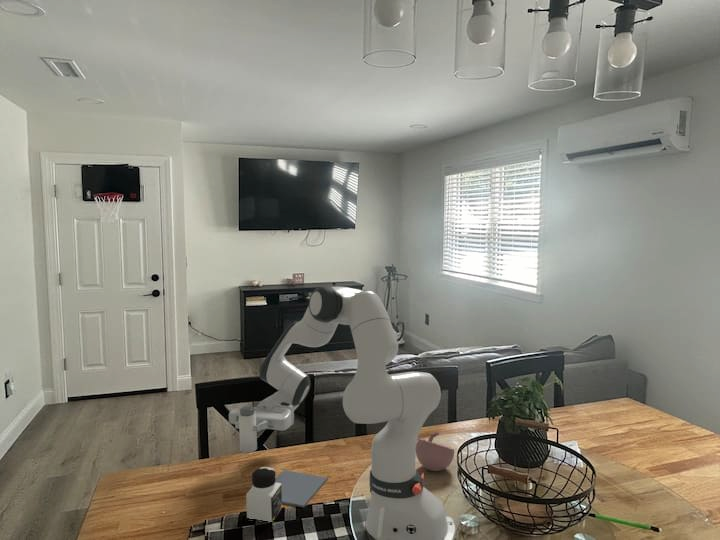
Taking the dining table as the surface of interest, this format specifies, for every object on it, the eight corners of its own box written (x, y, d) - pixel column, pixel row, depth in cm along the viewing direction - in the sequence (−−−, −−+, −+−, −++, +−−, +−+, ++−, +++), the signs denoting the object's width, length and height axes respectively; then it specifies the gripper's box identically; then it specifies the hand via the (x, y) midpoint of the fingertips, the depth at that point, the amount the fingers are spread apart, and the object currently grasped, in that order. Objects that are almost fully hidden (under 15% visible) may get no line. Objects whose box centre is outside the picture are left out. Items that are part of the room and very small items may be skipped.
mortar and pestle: (461, 467, 152) (461, 432, 151) (442, 482, 142) (442, 445, 142) (428, 456, 159) (428, 423, 158) (408, 470, 150) (408, 435, 149)
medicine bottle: (272, 523, 123) (271, 478, 122) (246, 520, 125) (245, 475, 124) (282, 507, 130) (281, 465, 129) (257, 505, 132) (256, 463, 131)
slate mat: (327, 479, 145) (327, 477, 145) (303, 507, 130) (303, 505, 130) (283, 471, 150) (283, 469, 150) (256, 497, 135) (256, 495, 135)
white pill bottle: (260, 446, 146) (258, 406, 145) (251, 453, 141) (249, 412, 140) (246, 444, 148) (244, 405, 147) (236, 451, 143) (235, 410, 142)
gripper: (242, 398, 159) (216, 413, 146) (297, 405, 152) (275, 421, 139) (243, 417, 160) (217, 433, 147) (297, 424, 153) (276, 442, 140)
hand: (246, 427), depth 143 cm, fingers closed on white pill bottle, 5 cm apart
